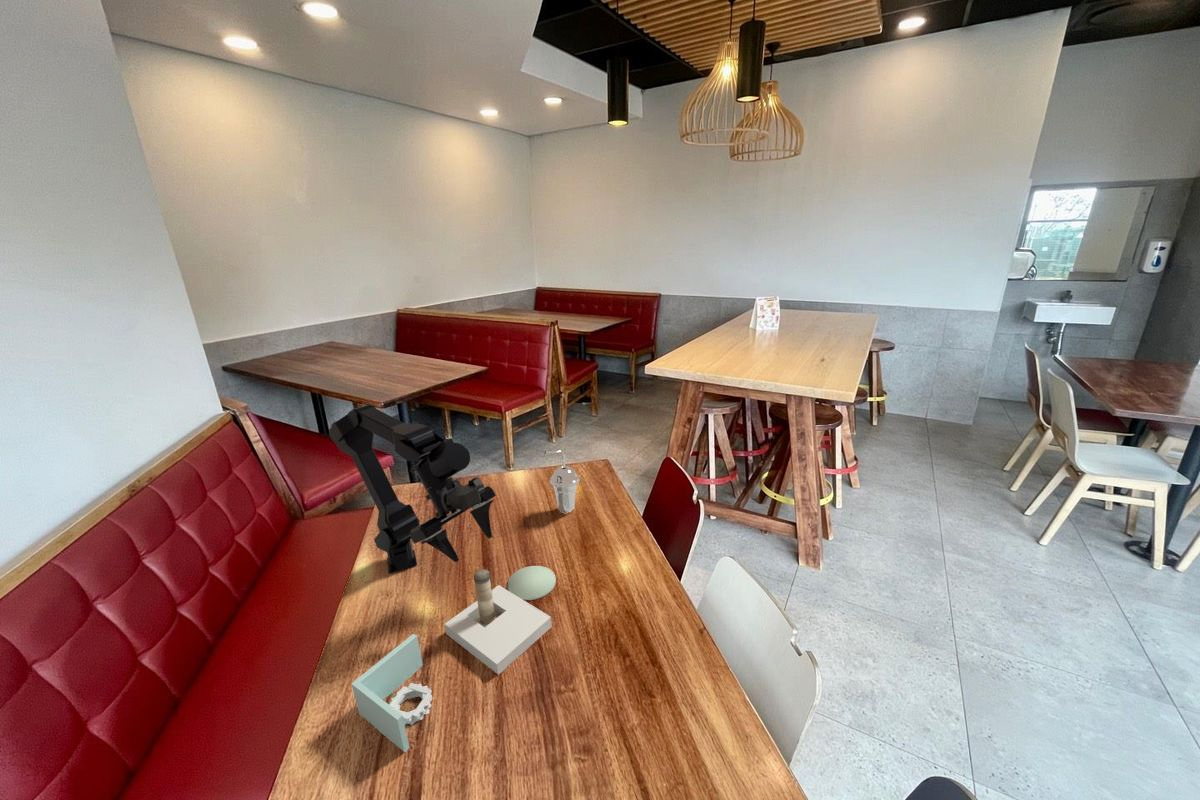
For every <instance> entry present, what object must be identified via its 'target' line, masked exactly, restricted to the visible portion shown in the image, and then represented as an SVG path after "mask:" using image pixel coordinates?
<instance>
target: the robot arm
mask: <svg viewBox="0 0 1200 800" xmlns="http://www.w3.org/2000/svg"><path fill="white" fill-rule="evenodd" d="M328 435H329V437H330V439H331V441H332V442H334V444H335V445H336V446H337V448H338V450H339V451H341V452H343V453H344V454H346V455H348V456H349V457H351V458H352V461H353V462H354V465H355V466H356V469H357V471H358V473H359V474H360V477H361V479H362V481H363V483H364V485H365V486H366V489H367V490H368V492H369V495H370V496H371V499H372V500H373V502H374V504H375V506H376V508H377V511H378V515H377V523H376V524H377V527H378V530H379V532H378V533H377V535H376V536H375V538H374V543H375V545H376V548H378V549H380V550H382V551H383V552H385V553H387V557H386V561H387V569H388V570H387V571H388V574H393V573H397V572H400V571H403V570H406V569H409V568H412V567H416V566H417V565H418V561H417V557H416V552H415V550H414V549H413V545H415V544H417V543H420V544H421V545H424V544H428V545H429V546H431V547H432V548H435V549H436V550H438V551H439V552H441V553H442V554H443V555H444V556H446V557H447V558H449V559H450V560H451V561H453V562H454V563H457V562H459V556H458V555H457V552H456V550H455V549H454V547H453V545H452V543H451V542H450V539H449V538H448V534H447V533H448V532H447V529H446V528H445V529H443V530H442V527H443V526H444V525H445V524H447V523H448V522H450V521H452V520H454V519H455V518H457V517H458V516H460V515H462V514H463V513H465V512H466V511H468V510H470V509H471V508H472V509H471V510H470V511H469V513H470V514H471V516H472V518H474V521H475V523H476V524H477V525H478V527H479V528H480V529H481V531H482V533H483V534H484V535H485V537H486V538H487V539H491V538H492V537H493V535H492V533H493V532H492V528H491V527H492V526H491V521H490V508H491V505H492V503H494V499H493V498H494V497H496V496H497V494H496V492H495V490H494V488H492V487H491V486H489V485H487V486H485V485H484V483H483V481H482V480H481V478H480V477H473V478H471V479H470V480H468V483H467V484H465V485H462V484H461V482H460V480H458V478H457V479H454V478H453V476H454V475H456V474H458V473H459V472H461V471H463V470H465V469H466V468H468V466H469V464H470V463H471V454H470V451H469V450H468V448H467V447H465V446H464V445H463V444H461V443H458V442H455V441H454V440H453V439H452V438H451V437H449V438H444V437H443V436H441V435H440V434H439V433H438V432H436V431H435V430H433V429H432V428H431V427H430V426H429V425H426V424H422V423H406V422H404V421H401V420H399V419H397V418H395V417H393V416H391V415H390V414H387V413H385V412H383V411H382V410H379V409H377V408H376V406H375V405H374V404H365V405H361V406H359V407H355V408H352V409H351V410H350V411H348V413H346V415H344V416H342V417H341V418H339V419H338V420H337V421H334V422H332V424H331V427H330V428H329V429H328ZM374 435H375V436H378V437H380V438H381V439H383V440H385V441H388V442H389V443H391V444H392V445H393V448H394V449H393V450H394V453H396V454H398V455H399V456H400V457H401V458H402V459H404V460H406V461H408V462H409V461H412V465H411V467H410V473H411V474H414V473H416V474H417V476H418V479H419V480H420V482H421V484H422V485H423V488H424V489H425V490H426V493H427V495H425V498H426V500H427V501H429V500H430V501H431V502H432V504H433V506H434V507H435V510H436V512H434V515H435V516H434V517H432V518H430V519H427V520H426V521H424V522H422V523H420V520H419V519H420V518H419V517H418V516H417V514H416V513H415V511H414V508H413V506H412V505H411V504H406V503H403V502H402V501H400V500H399V498H398V497H397V493H396V492H395V490H394V489H393V486H392V484H391V483H390V480H389V478H388V476H387V474H386V472H385V470H384V468H383V466H382V464H381V462H380V460H379V458H378V456H377V453H376V451H374V449H373V444H374ZM412 542H413V545H412Z"/></svg>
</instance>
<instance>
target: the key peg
mask: <svg viewBox="0 0 1200 800" xmlns="http://www.w3.org/2000/svg"><path fill="white" fill-rule="evenodd" d="M473 581H474V585H475V586H474V587H475V592H476V593H475V594H476V599H477V600H476V601H477V602H478V609H479V616H478V618H477V619H476V622H478V623H479V624H480V625H482V626H483V627H486V626H487V625H489V624H490V623H491V622H492V621H494V620H495V619H496V618H498V617H499V614H497V613H496V612H494V606H493V598H492V590H493V589H492V584H491V583H492V582H491V573H490V571H489V570H488V569H485V568H483V569H479V570H477V571H476V572H474V574H473Z"/></svg>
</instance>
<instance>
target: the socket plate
mask: <svg viewBox="0 0 1200 800" xmlns="http://www.w3.org/2000/svg"><path fill="white" fill-rule="evenodd" d="M491 590H492V598H493V606H494V612H496V613H497V614H498V618H496V619H495V620H494V621H492V622H491V623H490V624H489V625H487V626H486V627H483V626H482V625H480V624H479V623H478V622H477V618H478V616H479V609H478V602H477V600H476V601H475V602H473V603H472V604H470V605H468V606H467V607H466V608H464V609H463V610H461V612H459V613H458V614H457V615H455V616H453V617H452V618H451V619H449V620H448V621H447V622H445V623H444V628H445V633H446V635H447V636H448V637H450V638H451V639H452V640H453V641H455V642H456V643H457V644H459V645H460V646H461V647H463V649H465V650H466V651H467V652H469V653H470V654H471V655H472V656H474V657H475V658H476V659H478V660H479V661H480V662H482V663H483V664H484V665H485V666H486V667H488V668H489V669H491V670H492V671H493V673H495V674H497V675H498V676H499V675H500V674H501V673H502V672H504V671H505V669H507V668H508V667H509V666H510V665H511V664H512V663H513V662H514V661H516V660H517V659H518V658H519V657H520V656H521V655H522V654H523V653H525V652H526V651H527V650H528V649H529V648H530V647H531V646H532V645H533V644H534V643H536V642H537V641H538V640H539V639H540V638H541V637H542V636H543V635H545V633H546V632H548V631H549V630H550V629H551V628H552V627H553V626H552V616H550V615H549V614H548V613H545V612H544V611H542V610H540V609H539V608H537V607H536V606H534V605H532V604H530V603H529V602H527V600H522V599H521V598H519V597H518V596H516V595H514V594H513V593H511V592H509V590H508V589H506V588H504V587H503V586H501V585H500V584H497V586H495V587H494V588H493V589H491Z"/></svg>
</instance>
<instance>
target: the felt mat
mask: <svg viewBox="0 0 1200 800" xmlns="http://www.w3.org/2000/svg"><path fill="white" fill-rule="evenodd" d="M556 583H557V578H556V575H555V573H554V571H553V570H552V569H550V568H549V567H545V566H541V565H530V566H525V567H521V568H520V569H518V570H516V571H515V572H513V574H511V576H510V577H509V579H508V581H507V590H508V591H509V592H511V593H513V594H514V595H516V596H518V597H519V598H521V599H522V600H524V601H534V600H538V599H541V598H543V597H545V596H547V595H550V594H551V592H552V591H553V590H554V588H555V586H556Z"/></svg>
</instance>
